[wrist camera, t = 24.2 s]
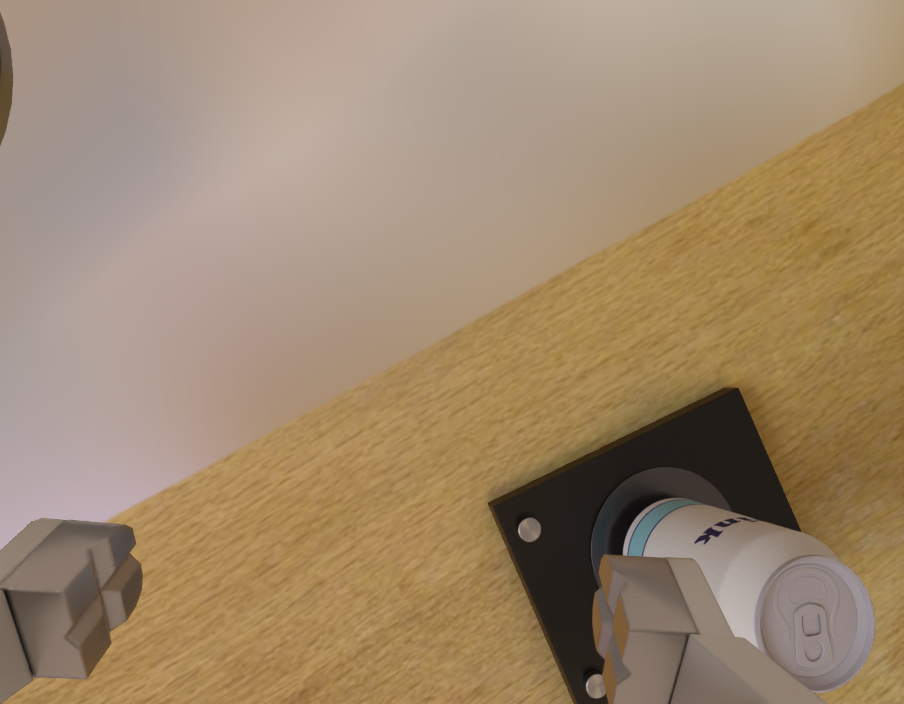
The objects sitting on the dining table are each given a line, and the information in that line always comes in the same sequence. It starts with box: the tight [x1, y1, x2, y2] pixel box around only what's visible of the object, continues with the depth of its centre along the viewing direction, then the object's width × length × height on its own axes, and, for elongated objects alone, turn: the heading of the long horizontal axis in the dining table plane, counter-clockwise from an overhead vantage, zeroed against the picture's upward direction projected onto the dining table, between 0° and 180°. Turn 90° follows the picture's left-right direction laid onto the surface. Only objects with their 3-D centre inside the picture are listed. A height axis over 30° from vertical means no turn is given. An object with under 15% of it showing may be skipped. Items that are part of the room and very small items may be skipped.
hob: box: [488, 388, 801, 704], centre depth 37 cm, size 18×14×2 cm
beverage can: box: [623, 498, 875, 693], centre depth 30 cm, size 7×7×12 cm
